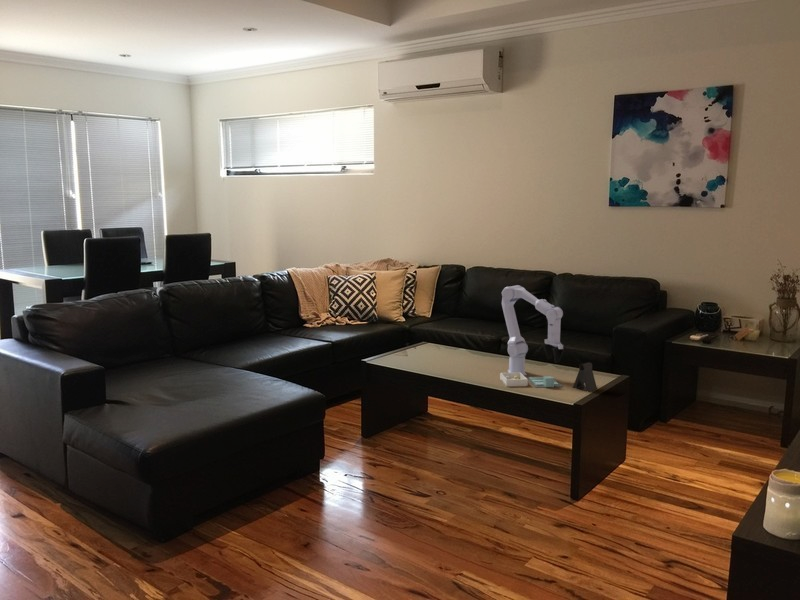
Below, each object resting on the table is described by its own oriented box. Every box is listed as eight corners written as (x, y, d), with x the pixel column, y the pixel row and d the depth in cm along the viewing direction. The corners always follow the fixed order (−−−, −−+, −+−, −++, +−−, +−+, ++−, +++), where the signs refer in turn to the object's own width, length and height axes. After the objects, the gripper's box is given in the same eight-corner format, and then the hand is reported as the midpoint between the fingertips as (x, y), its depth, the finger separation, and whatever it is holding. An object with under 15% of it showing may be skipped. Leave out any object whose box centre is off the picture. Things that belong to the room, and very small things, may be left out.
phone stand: (572, 388, 311) (573, 362, 309) (580, 385, 315) (581, 360, 313) (589, 392, 304) (590, 366, 302) (597, 389, 308) (598, 364, 306)
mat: (525, 377, 329) (525, 377, 329) (551, 377, 330) (551, 376, 330) (535, 387, 312) (535, 387, 312) (563, 386, 313) (563, 386, 313)
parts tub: (500, 379, 326) (500, 372, 326) (520, 378, 327) (520, 372, 327) (506, 386, 314) (506, 379, 313) (527, 386, 314) (527, 379, 314)
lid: (528, 377, 328) (528, 369, 327) (550, 377, 328) (550, 369, 328) (538, 387, 311) (538, 378, 310) (560, 386, 312) (561, 378, 311)
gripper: (539, 330, 326) (538, 358, 328) (553, 336, 312) (552, 364, 314) (552, 329, 328) (551, 357, 329) (567, 335, 314) (566, 363, 316)
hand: (553, 360), depth 322 cm, fingers open, 7 cm apart
